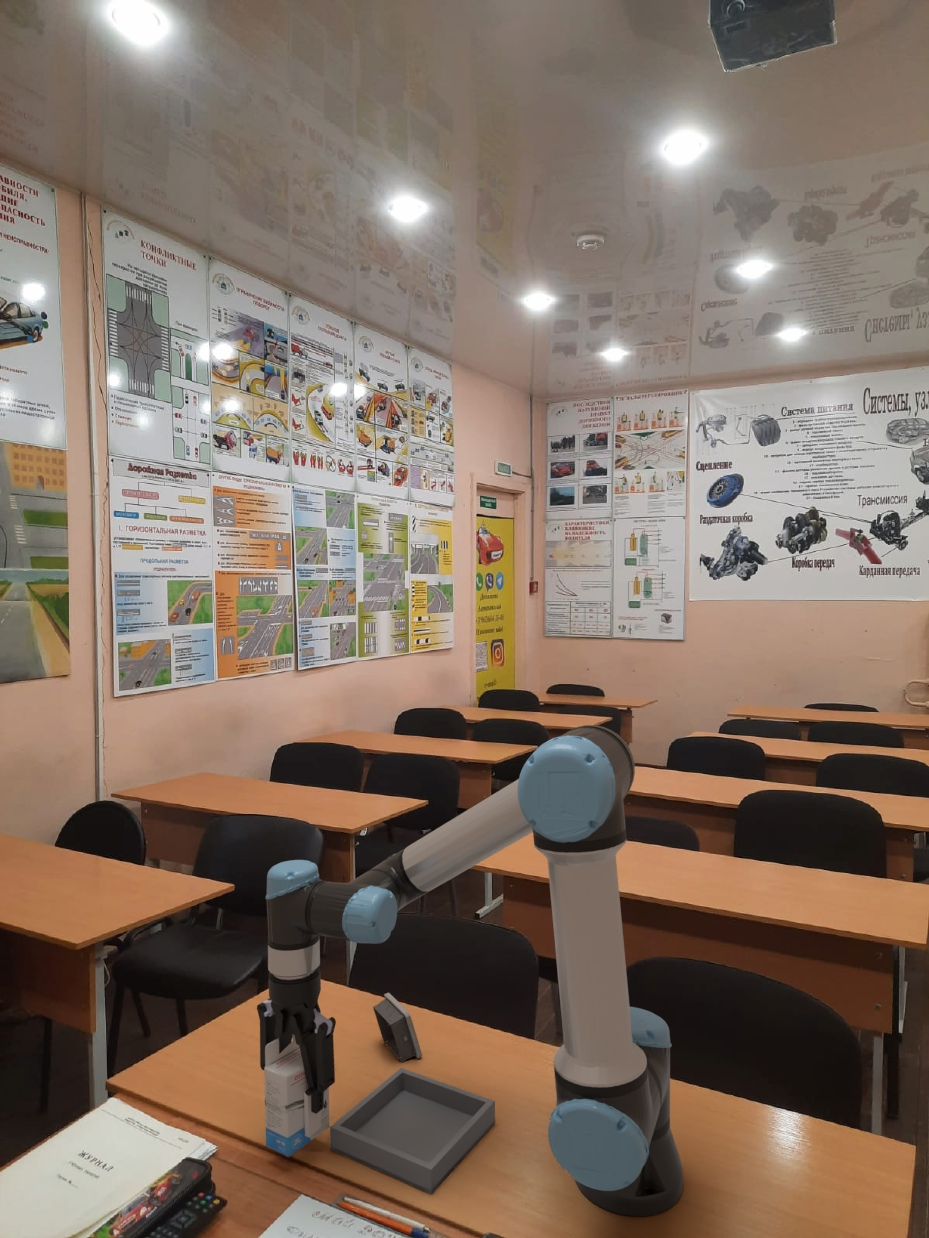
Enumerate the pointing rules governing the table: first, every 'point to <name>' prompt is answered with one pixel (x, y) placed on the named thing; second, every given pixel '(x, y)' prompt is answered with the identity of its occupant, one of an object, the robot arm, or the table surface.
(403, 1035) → the electrical switch
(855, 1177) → the table surface
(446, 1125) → the tray
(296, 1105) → the ink box
